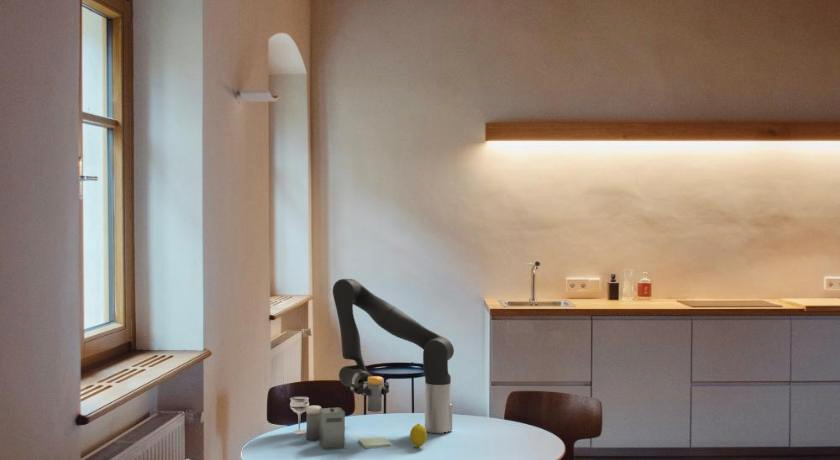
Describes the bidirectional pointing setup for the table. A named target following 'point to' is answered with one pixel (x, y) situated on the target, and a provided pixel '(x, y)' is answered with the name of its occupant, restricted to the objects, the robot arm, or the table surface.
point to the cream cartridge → (313, 423)
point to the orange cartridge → (375, 393)
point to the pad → (374, 442)
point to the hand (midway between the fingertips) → (377, 392)
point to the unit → (332, 428)
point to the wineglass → (299, 409)
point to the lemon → (418, 435)
